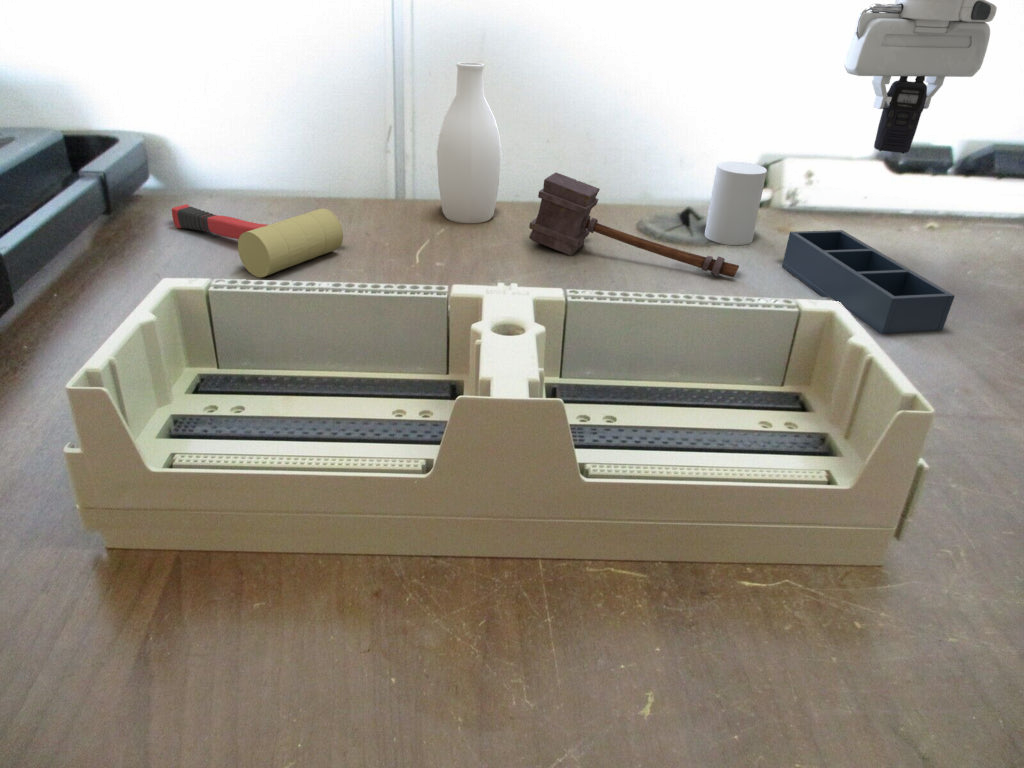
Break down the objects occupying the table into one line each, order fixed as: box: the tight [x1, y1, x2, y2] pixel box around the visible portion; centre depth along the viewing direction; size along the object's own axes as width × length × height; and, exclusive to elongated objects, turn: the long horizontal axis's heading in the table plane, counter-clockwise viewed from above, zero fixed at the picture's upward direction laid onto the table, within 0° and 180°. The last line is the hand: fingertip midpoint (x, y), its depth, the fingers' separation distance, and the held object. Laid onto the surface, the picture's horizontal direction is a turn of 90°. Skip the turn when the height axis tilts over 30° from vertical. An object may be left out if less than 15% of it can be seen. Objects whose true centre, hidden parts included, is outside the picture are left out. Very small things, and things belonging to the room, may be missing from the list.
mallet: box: [171, 203, 344, 278], centre depth 118 cm, size 14×6×30 cm
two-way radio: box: [873, 76, 927, 155], centre depth 113 cm, size 6×4×15 cm
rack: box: [781, 229, 956, 335], centre depth 110 cm, size 9×26×6 cm, turn 12°
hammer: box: [528, 172, 740, 278], centre depth 119 cm, size 7×33×10 cm, turn 66°
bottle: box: [436, 61, 502, 224], centre depth 131 cm, size 11×11×25 cm
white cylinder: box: [704, 161, 768, 246], centre depth 130 cm, size 8×8×12 cm
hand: (900, 108), depth 114 cm, fingers closed on two-way radio, 5 cm apart
